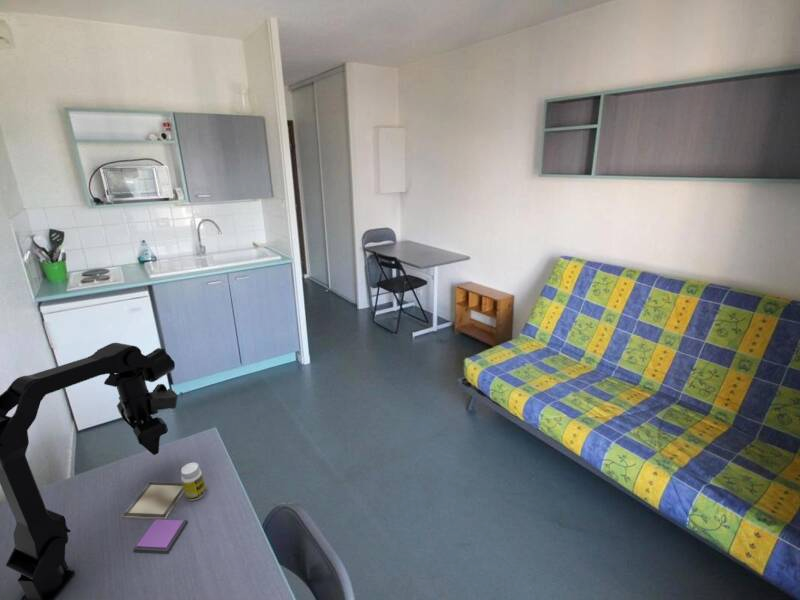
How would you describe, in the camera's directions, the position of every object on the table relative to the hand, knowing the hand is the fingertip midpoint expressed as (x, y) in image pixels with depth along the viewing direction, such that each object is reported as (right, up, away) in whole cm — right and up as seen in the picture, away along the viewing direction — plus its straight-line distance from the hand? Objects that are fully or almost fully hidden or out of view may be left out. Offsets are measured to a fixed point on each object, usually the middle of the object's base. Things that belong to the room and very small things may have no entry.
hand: (150, 445), depth 107 cm
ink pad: (+8, -18, -9) cm, 22 cm away
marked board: (+1, -14, +1) cm, 14 cm away
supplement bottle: (+11, -13, +2) cm, 17 cm away
